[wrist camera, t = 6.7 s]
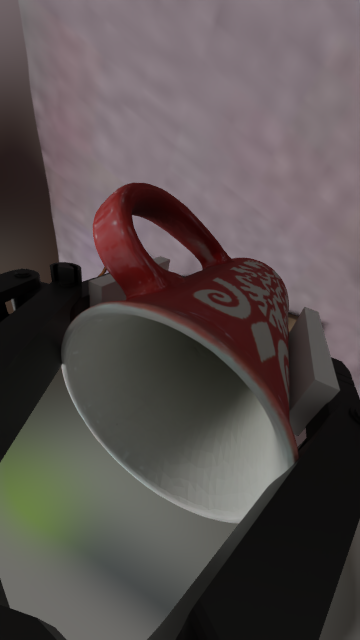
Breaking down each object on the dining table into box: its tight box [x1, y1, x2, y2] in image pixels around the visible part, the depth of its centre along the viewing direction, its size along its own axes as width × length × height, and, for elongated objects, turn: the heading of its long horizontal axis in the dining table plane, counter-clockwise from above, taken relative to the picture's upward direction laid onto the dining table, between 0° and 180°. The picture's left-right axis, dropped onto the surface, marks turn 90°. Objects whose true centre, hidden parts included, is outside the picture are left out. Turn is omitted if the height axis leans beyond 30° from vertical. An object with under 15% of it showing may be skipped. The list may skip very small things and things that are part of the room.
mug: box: [61, 183, 299, 523], centre depth 12 cm, size 13×9×14 cm
